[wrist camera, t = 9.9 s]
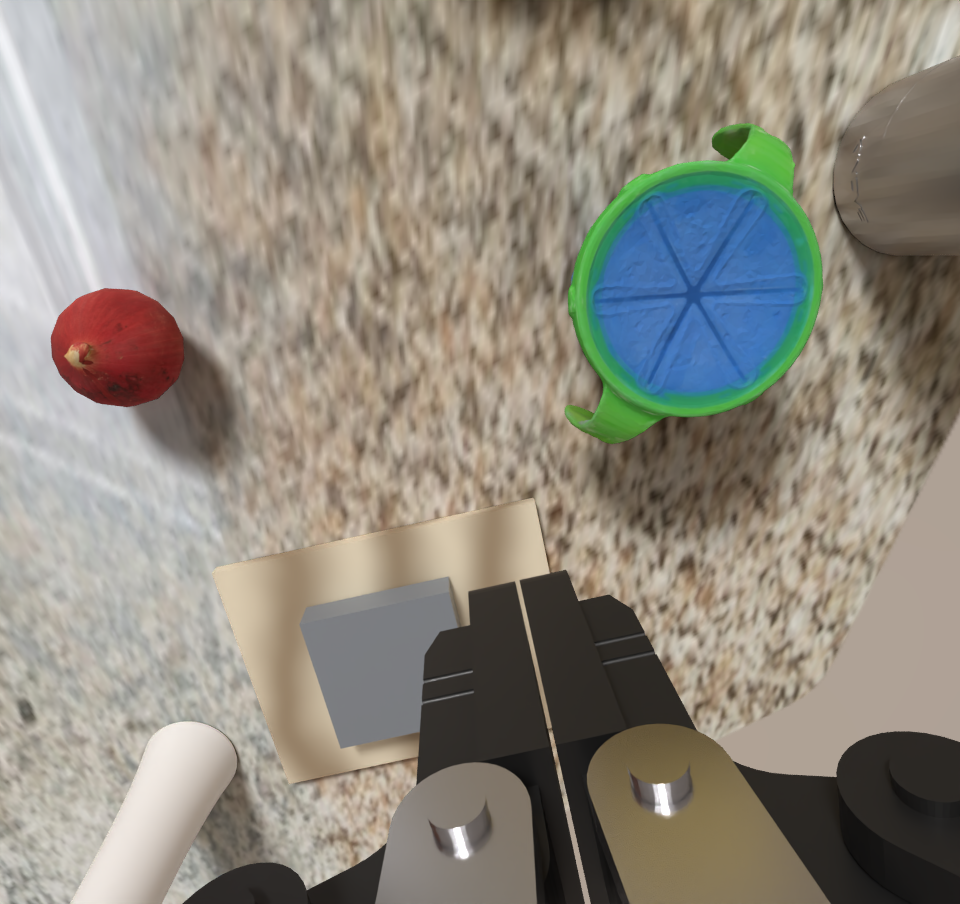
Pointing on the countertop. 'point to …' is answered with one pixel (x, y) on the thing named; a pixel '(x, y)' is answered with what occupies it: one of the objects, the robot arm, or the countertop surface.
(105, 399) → the onion
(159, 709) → the countertop surface
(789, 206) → the snack cup
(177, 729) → the cosmetic bottle
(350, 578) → the board
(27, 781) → the countertop surface
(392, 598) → the block
